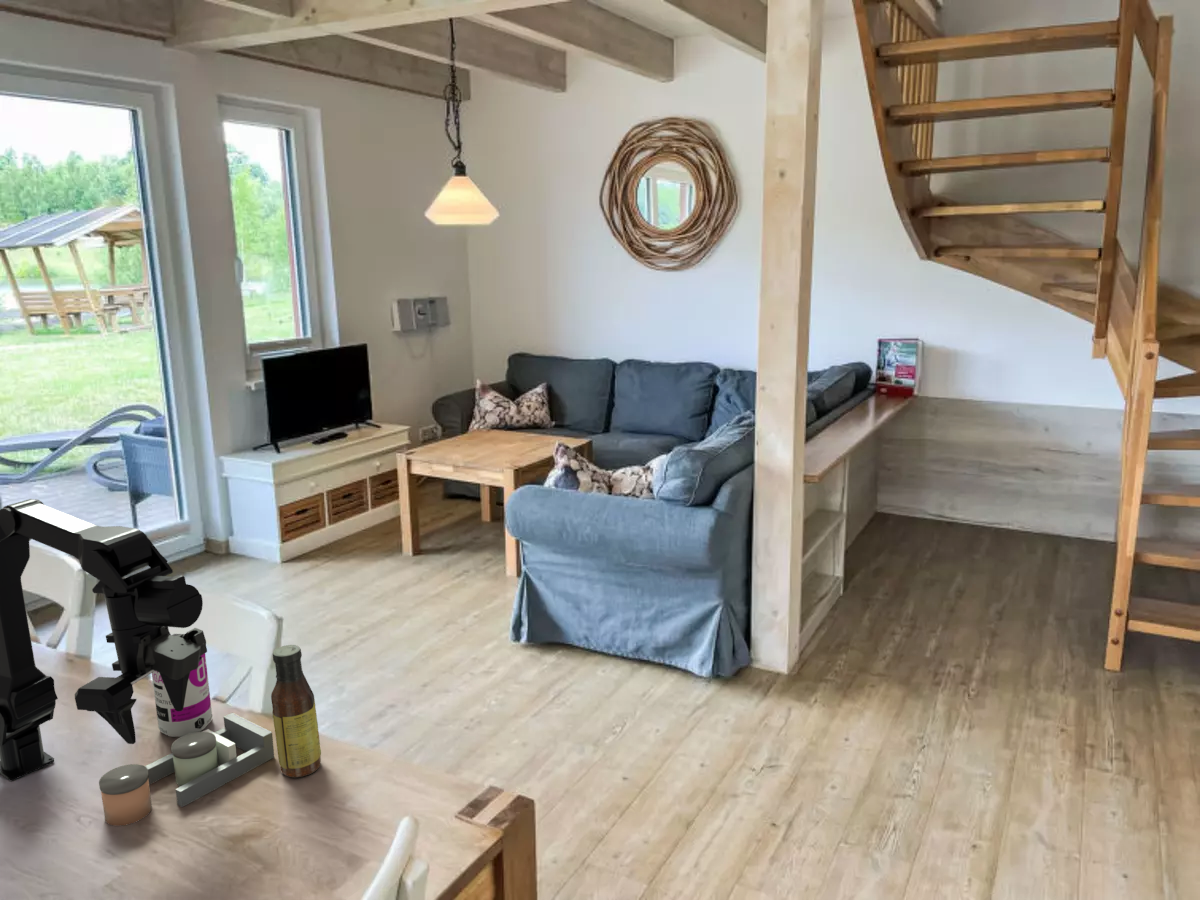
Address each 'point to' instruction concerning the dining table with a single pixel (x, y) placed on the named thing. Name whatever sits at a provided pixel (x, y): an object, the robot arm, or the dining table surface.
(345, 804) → the dining table surface
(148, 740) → the dining table surface
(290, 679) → the sauce bottle
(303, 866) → the dining table surface
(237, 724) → the lane
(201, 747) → the jar sage
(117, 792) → the jar terracotta
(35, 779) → the dining table surface
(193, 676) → the supplement can
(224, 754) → the bar
